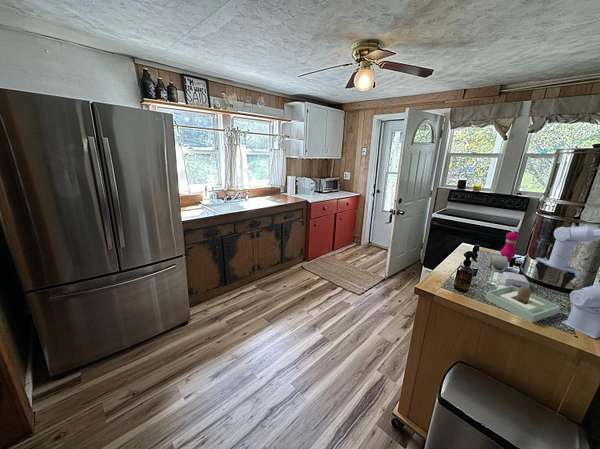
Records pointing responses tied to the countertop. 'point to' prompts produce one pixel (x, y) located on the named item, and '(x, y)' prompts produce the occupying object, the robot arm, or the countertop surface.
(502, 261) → the ceramic mug
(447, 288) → the countertop surface
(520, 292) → the peg
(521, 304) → the bore plate
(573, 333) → the countertop surface
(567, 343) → the countertop surface
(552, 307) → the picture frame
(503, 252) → the pepper mill
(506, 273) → the charger
